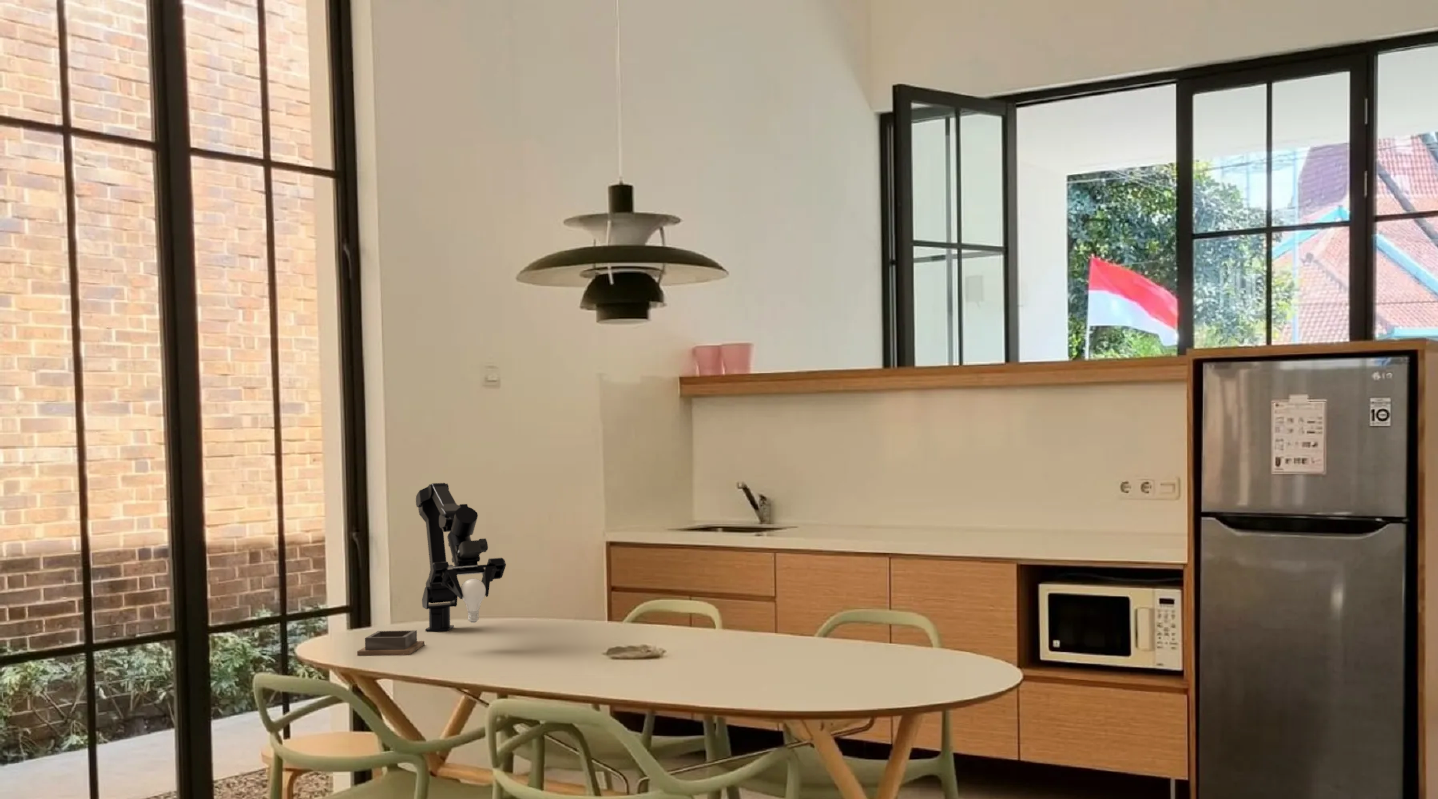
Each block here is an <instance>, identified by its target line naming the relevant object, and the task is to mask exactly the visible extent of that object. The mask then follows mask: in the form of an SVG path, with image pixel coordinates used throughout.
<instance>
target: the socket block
mask: <svg viewBox="0 0 1438 799" xmlns="http://www.w3.org/2000/svg"><path fill="white" fill-rule="evenodd" d="M417 633H418V630H377V631H376V632H374V633H371V634H369V635H368V636H366V637H365V638H364V647H362V648H361V649H359V650H357V652H356V653H357V654H356V656H398V655H399V656H402V655H403V656H404V655H405V656H409V655H412V654H413V653H414V652H416V651H417V650H419V649H421V648H422V647H424V646H425V641H424V640H418V634H417Z"/></svg>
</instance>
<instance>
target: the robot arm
mask: <svg viewBox="0 0 1438 799" xmlns="http://www.w3.org/2000/svg"><path fill="white" fill-rule="evenodd" d="M449 486H450V485H449V484H448V483H445V482H433V483H430V484H428V486H427V487H424V488H421V489H420V490H418V492H417V494H416V495H415V505H416V508H418V513H419V516H420V517H421V519H422V520H423V521H424V522H425V528H426V539H427V548H428V557H429V558H428V559H429V569H430V570H429V574H428V578H427V580H426V581H425V587H424V590H423V594H422V598H421V604H422V608H423V609H426V610H428V627H426V628H425V629H424V630H425V632H435V631H436V632H437V631H438V632H439V631H440V632H442V631H444V632H445V631H450V630H451V629H454V628H455V625H454V624H451V607H452V608H453V607H455V608H456V607H457V606H458V598H459V599H460V600H463V599H462V598H463V595H462V590H461V584H460V582H459V579H458V576H466V575H468V576H469V575H478V574H481V575H482V578H481V581H482V582H483V584H484V585H485V588H486V594H485V597H486V598H488V597H489V594H490V593H489V592H490V584H491V582H494V581H493V580H501V578H503V576H504V573H505V569H506V566H507V563H506V560H505V559H504V558H503V557H494V558H490V557H489V558H488V561H487V564H478V562H479V563H480V561H481V557H480V555H481V554H482V553H487V551H488V549H489V545H488V540H487V538H479V539H477V540H476V539H475V540H472V538H471V536H472V535H474V531H475V528H476V523H477V521H478V516H479V514H478V512H477V511H476V510H475V509H474V508H472V507H470V506H468V503H461V504H457V503H456V501H455V499H454V497H453V495H452V494H451V491H450V490H449V488H450V487H449ZM448 532H449V533H448ZM444 533H448V534H447V542H448V545H447V546H448V547H449V550H450V553H451V562H452V563H453V564H450V563H449V561H447V555H446V545H445V535H444Z"/></svg>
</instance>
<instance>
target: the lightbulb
mask: <svg viewBox="0 0 1438 799" xmlns="http://www.w3.org/2000/svg"><path fill="white" fill-rule="evenodd" d="M460 587H461V590H462V595H463V598H462V599H461V600H463V602H464V604H465V606H466V610H467V621H469V622H470V623H473V624H474V623H477V621H479V620H480V619H479V618H480V616H479V613H480V607H481V605H482V602H483V601H484V599H485V597H486V595H485V594H486V588H485V585H484V584H483V582H482V580H480V579H478V578H469V579H466V580H465V581H464V582H463V583H462V584H461V585H460Z"/></svg>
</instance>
